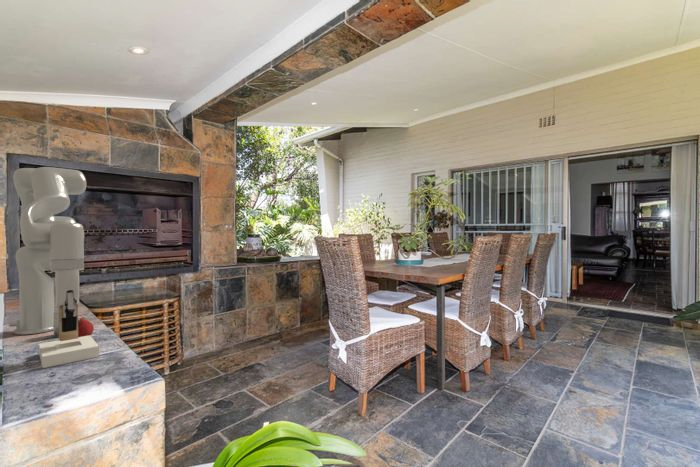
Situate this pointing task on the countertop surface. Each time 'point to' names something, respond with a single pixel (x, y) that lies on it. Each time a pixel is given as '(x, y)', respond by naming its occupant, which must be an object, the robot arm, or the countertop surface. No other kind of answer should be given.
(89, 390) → the countertop surface
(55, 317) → the round peg
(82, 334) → the onion
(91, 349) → the socket block
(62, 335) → the square peg
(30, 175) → the robot arm
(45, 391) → the countertop surface
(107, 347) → the countertop surface
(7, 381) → the countertop surface
